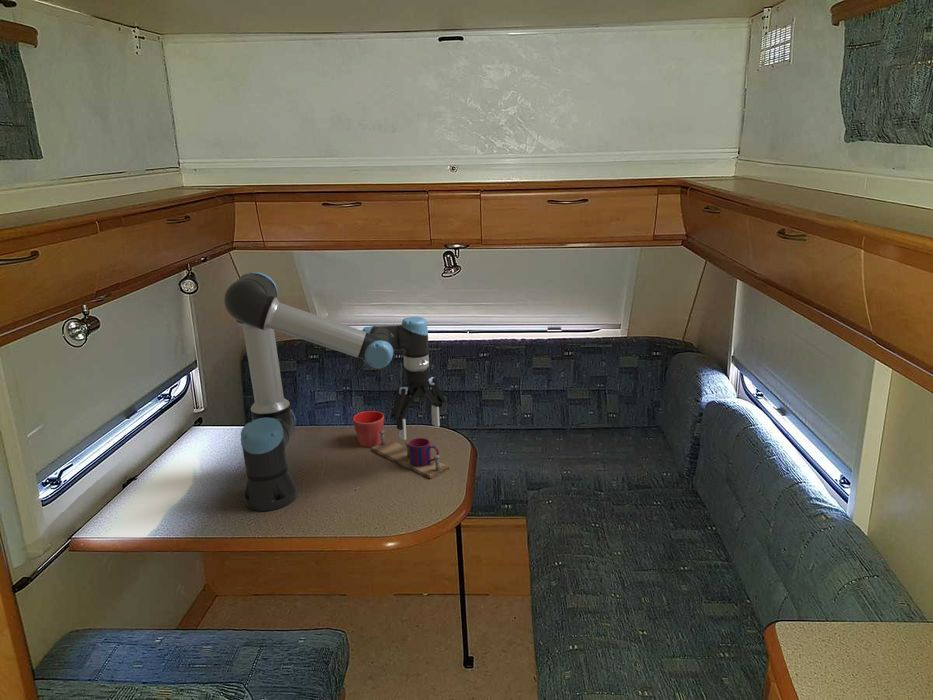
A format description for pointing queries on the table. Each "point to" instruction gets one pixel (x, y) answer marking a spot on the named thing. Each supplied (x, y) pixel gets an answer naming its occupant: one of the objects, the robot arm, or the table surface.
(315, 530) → the table surface
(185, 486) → the table surface
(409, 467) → the rail
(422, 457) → the mug
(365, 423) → the flower pot
